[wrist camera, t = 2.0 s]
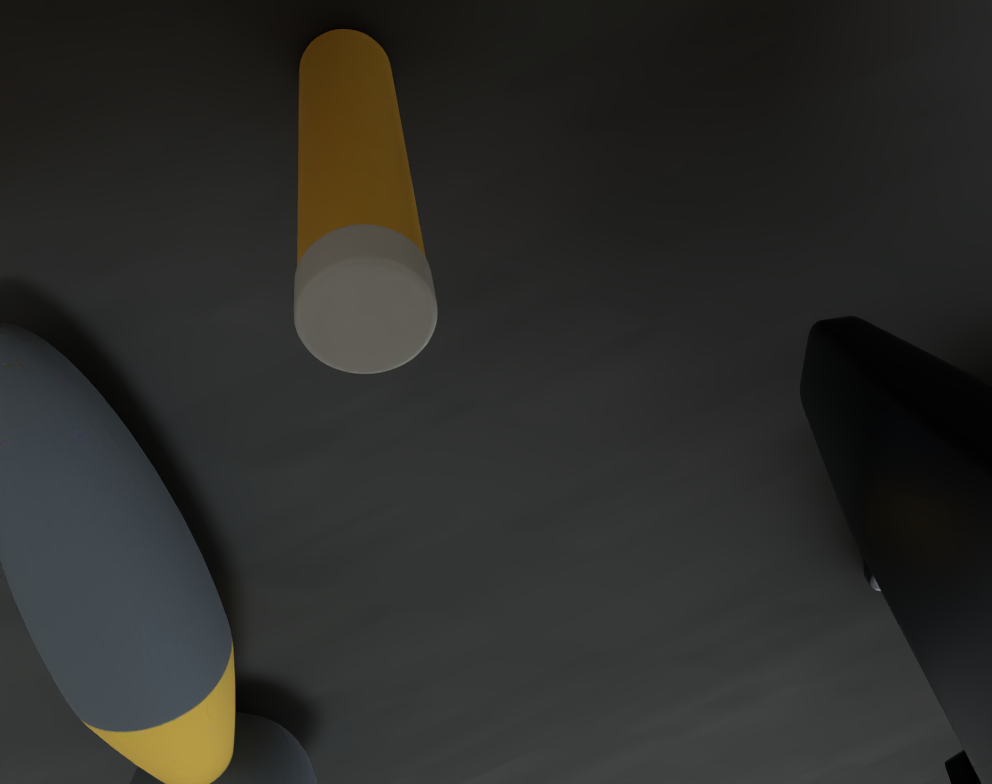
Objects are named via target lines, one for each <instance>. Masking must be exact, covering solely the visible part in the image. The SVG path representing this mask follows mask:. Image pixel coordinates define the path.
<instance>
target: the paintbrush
mask: <svg viewBox="0 0 992 784" xmlns="http://www.w3.org/2000/svg"><path fill="white" fill-rule="evenodd" d="M0 562H1V564H2V567H3V570H4V573H5V575H6V578H7V581H8V584H9V586H10V589H11V592H12V594H13V597H14V600H15V602H16V604H17V607H18V609H19V611H20V613H21V615H22V618H23V620H24V622H25V624H26V627H27V629H28V631H29V633H30V636H31V638H32V640H33V642H34V644H35V646H36V648H37V650H38V652H39V653H40V655H41V657H42V659H43V661H44V663H45V665H46V667H47V668H48V670H49V672H50V674H51V676H52V678H53V680H54V681H55V683H56V685H57V686H58V688H59V690H60V691H61V693H62V695H63V696H64V698H65V699H66V701H67V703H68V704H69V706H70V707H71V708H72V710H73V711H74V712H75V714H76V715H77V716H78V717H79V718H80V719H81V720H82V721H83V722H84V724H85V725H87V726H88V727H89V728H90V729H91V730H92V731H94V732H95V733H96V734H97V735H98V736H100V737H101V738H102V739H103V740H105V741H106V742H107V743H108V744H109V745H111V746H112V747H113V748H114V749H116V750H117V751H118V752H120V753H121V754H122V755H124V756H125V757H126V758H128V759H129V760H131V761H132V762H133V763H135V764H136V765H137V766H138V768H137V770H136V772H135V774H134V776H133V778H132V781H131V783H130V784H317V782H316V777H315V773H314V770H313V767H312V765H311V762H310V760H309V757H308V755H307V754H306V752H305V750H304V749H303V747H302V746H301V745H300V743H299V742H298V741H297V739H296V738H295V737H294V736H293V735H292V734H291V733H290V732H289V731H287V730H286V729H285V728H283V727H282V726H281V725H279V724H278V723H276V722H274V721H272V720H269V719H267V718H264V717H261V716H258V715H254V714H248V713H239V712H235V670H234V652H233V642H232V636H231V630H230V626H229V623H228V619H227V616H226V614H225V611H224V608H223V605H222V603H221V600H220V597H219V595H218V592H217V589H216V587H215V584H214V582H213V580H212V577H211V575H210V573H209V570H208V568H207V566H206V563H205V561H204V559H203V556H202V554H201V552H200V550H199V548H198V546H197V544H196V542H195V540H194V538H193V536H192V534H191V532H190V530H189V528H188V526H187V524H186V522H185V520H184V518H183V516H182V514H181V513H180V511H179V509H178V507H177V506H176V504H175V502H174V501H173V499H172V497H171V495H170V494H169V492H168V490H167V489H166V487H165V485H164V483H163V482H162V480H161V478H160V477H159V475H158V473H157V472H156V470H155V468H154V467H153V465H152V464H151V462H150V461H149V459H148V458H147V456H146V455H145V453H144V452H143V450H142V449H141V447H140V446H139V444H138V443H137V441H136V440H135V438H134V437H133V436H132V434H131V433H130V431H129V430H128V429H127V427H126V426H125V425H124V423H123V422H122V421H121V419H120V418H119V416H118V415H117V414H116V412H115V411H114V410H113V409H112V407H111V406H110V405H109V404H108V403H107V401H106V400H105V399H104V398H103V396H102V395H101V394H100V393H99V391H98V390H97V389H96V388H95V387H94V386H93V385H92V384H91V383H90V381H89V380H88V379H87V378H86V377H85V376H84V375H83V374H82V373H81V372H80V371H79V370H78V369H77V368H76V367H75V366H74V365H73V364H72V363H71V362H70V361H69V360H68V359H67V358H66V357H65V356H64V355H63V354H61V353H60V352H59V351H58V350H56V349H55V348H54V347H53V346H51V345H50V344H49V343H47V342H46V341H45V340H43V339H42V338H40V337H39V336H37V335H35V334H34V333H32V332H30V331H28V330H26V329H24V328H21V327H19V326H16V325H13V324H9V323H0Z"/></svg>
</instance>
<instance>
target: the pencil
mask: <svg viewBox="0 0 992 784" xmlns="http://www.w3.org/2000/svg"><path fill="white" fill-rule="evenodd" d="M437 315H438V311H437V302H436V297H435V291H434V286H433V281H432V275H431V271H430V267H429V264H428V262H427V260H426V257H425V251H424V246H423V240H422V235H421V230H420V224H419V219H418V213H417V208H416V202H415V197H414V191H413V186H412V180H411V175H410V169H409V164H408V158H407V153H406V147H405V142H404V136H403V131H402V125H401V120H400V114H399V109H398V103H397V98H396V92H395V87H394V81H393V76H392V70H391V65H390V62H389V59H388V57H387V55H386V53H385V51H384V50H383V48H382V47H381V46H380V45H379V44H378V43H377V42H376V41H375V40H374V39H372V38H371V37H369V36H368V35H366V34H364V33H362V32H359V31H355V30H351V29H337V30H332V31H329V32H326V33H324V34H322V35H320V36H318V37H317V38H316V39H314V40H313V41H312V42H311V43H310V44H309V46H308V47H307V48H306V50H305V51H304V53H303V56H302V58H301V62H300V67H299V143H298V245H297V269H296V273H295V279H294V322H295V327H296V330H297V333H298V335H299V337H300V339H301V341H302V342H303V344H304V345H305V346H306V348H307V349H308V350H309V351H310V352H311V353H312V354H313V355H314V356H315V357H316V358H317V359H319V360H320V361H322V362H323V363H325V364H327V365H328V366H331V367H333V368H335V369H338V370H341V371H345V372H350V373H358V374H371V373H379V372H384V371H388V370H391V369H394V368H397V367H399V366H401V365H403V364H405V363H407V362H408V361H410V360H411V359H413V358H414V357H415V356H416V355H417V354H418V353H420V352H421V351H422V349H423V348H424V347H425V346H426V344H427V343H428V341H429V340H430V338H431V336H432V334H433V332H434V329H435V326H436V322H437Z"/></svg>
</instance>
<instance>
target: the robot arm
mask: <svg viewBox="0 0 992 784" xmlns="http://www.w3.org/2000/svg"><path fill="white" fill-rule="evenodd" d="M800 394H801V401H802V405H803V408H804V411H805V414H806V416H807V419H808V422H809V424H810V427H811V429H812V432H813V435H814V437H815V440H816V443H817V445H818V448H819V451H820V453H821V456H822V459H823V461H824V464H825V467H826V469H827V472H828V475H829V477H830V480H831V483H832V485H833V488H834V490H835V493H836V496H837V498H838V501H839V504H840V506H841V509H842V512H843V514H844V516H845V519H846V521H847V524H848V526H849V529H850V531H851V533H852V535H853V537H854V539H855V541H856V543H857V545H858V547H859V549H860V551H861V553H862V555H863V557H864V559H865V561H866V565H865V569H864V576H865V578H866V579H867V581H868V583H869V585H870V586H871V587H872V589H874V590H877V591H881V592H882V594H883V595H884V597H885V599H886V601H887V603H888V605H889V607H890V609H891V611H892V613H893V615H894V617H895V618H896V620H897V622H898V624H899V626H900V628H901V630H902V632H903V634H904V636H905V638H906V640H907V641H908V643H909V645H910V647H911V649H912V651H913V653H914V655H915V657H916V659H917V661H918V663H919V664H920V666H921V668H922V670H923V672H924V674H925V676H926V678H927V680H928V682H929V684H930V686H931V687H932V689H933V691H934V693H935V695H936V697H937V699H938V701H939V703H940V705H941V707H942V708H943V710H944V712H945V714H946V716H947V718H948V720H949V722H950V724H951V726H952V728H953V730H954V731H955V733H956V735H957V737H958V739H959V741H960V743H961V745H962V747H963V749H964V750H963V751H961V752H959V753H958V754H956V755H955V756H953V757H951V758H950V759H948V760H947V761H946V762H945V767H946V770H947V773H948V775H949V778H950V781H951V784H992V385H991V384H989V383H987V382H985V381H983V380H981V379H979V378H977V377H975V376H973V375H971V374H969V373H967V372H965V371H964V370H962V369H960V368H958V367H956V366H954V365H952V364H950V363H948V362H946V361H944V360H942V359H940V358H938V357H936V356H934V355H932V354H930V353H928V352H926V351H924V350H922V349H920V348H918V347H916V346H914V345H912V344H910V343H908V342H906V341H904V340H902V339H900V338H898V337H896V336H894V335H892V334H890V333H888V332H886V331H884V330H882V329H880V328H879V327H877V326H875V325H873V324H871V323H869V322H867V321H865V320H863V319H860V318H858V317H855V316H846V317H839V318H833V319H827V320H820V321H818V322H816V323H815V324H814V325H813V326H812V328H811V329H810V332H809V336H808V342H807V347H806V353H805V359H804V365H803V371H802V376H801V383H800Z"/></svg>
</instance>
